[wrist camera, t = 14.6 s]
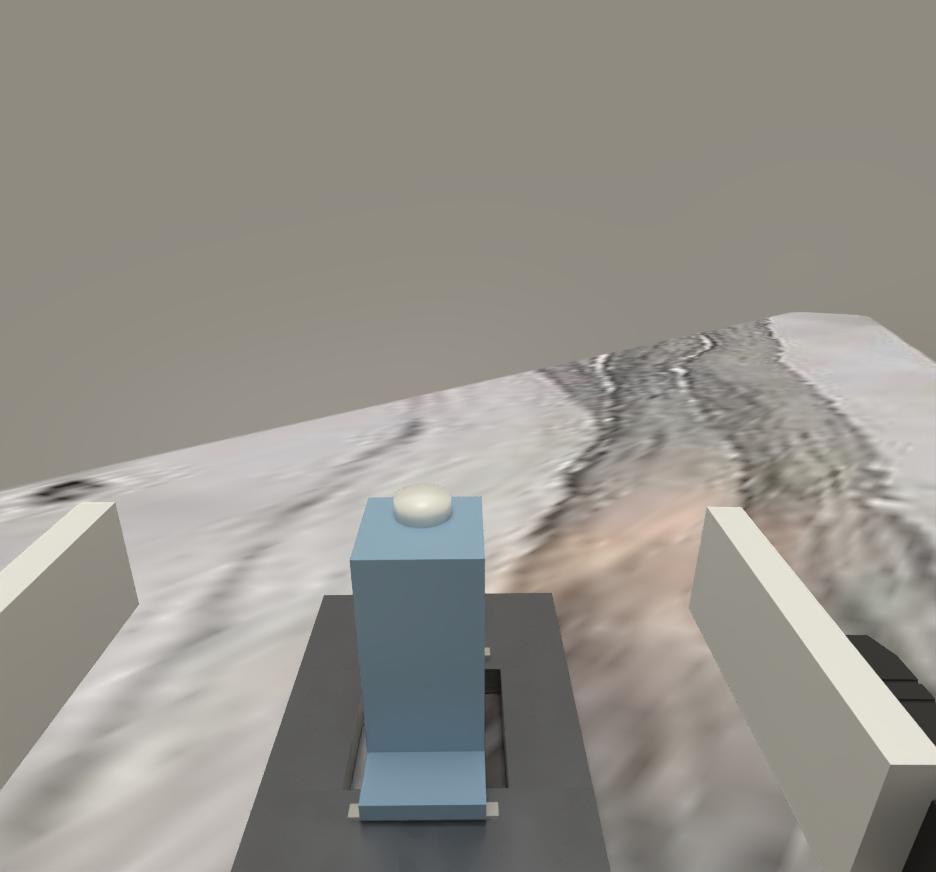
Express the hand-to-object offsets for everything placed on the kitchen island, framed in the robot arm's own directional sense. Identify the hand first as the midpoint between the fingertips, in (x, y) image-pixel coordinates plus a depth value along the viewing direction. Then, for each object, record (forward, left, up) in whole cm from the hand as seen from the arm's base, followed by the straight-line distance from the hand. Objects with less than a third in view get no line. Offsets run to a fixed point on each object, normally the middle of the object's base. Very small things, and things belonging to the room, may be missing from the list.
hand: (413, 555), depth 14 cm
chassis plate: (-8, +6, -17) cm, 20 cm away
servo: (-8, +6, -17) cm, 20 cm away
